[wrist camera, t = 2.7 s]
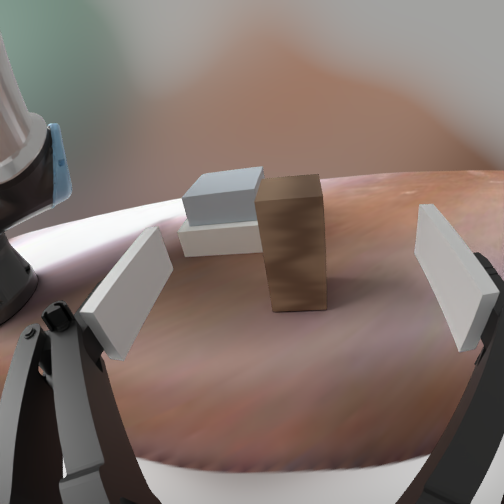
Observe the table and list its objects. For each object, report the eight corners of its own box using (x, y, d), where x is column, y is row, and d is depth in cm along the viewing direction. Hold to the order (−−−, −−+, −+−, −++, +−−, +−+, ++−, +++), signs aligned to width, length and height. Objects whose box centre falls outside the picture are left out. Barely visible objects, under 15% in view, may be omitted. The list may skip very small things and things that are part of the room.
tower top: (189, 226, 38) (181, 197, 36) (208, 198, 45) (202, 174, 43) (259, 220, 36) (254, 188, 34) (266, 192, 43) (262, 166, 41)
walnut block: (272, 311, 28) (254, 201, 22) (276, 278, 32) (261, 179, 26) (326, 309, 27) (322, 196, 21) (324, 275, 31) (318, 174, 25)
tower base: (185, 258, 39) (177, 232, 37) (208, 217, 49) (203, 195, 47) (276, 253, 37) (272, 224, 35) (281, 210, 47) (278, 186, 45)
